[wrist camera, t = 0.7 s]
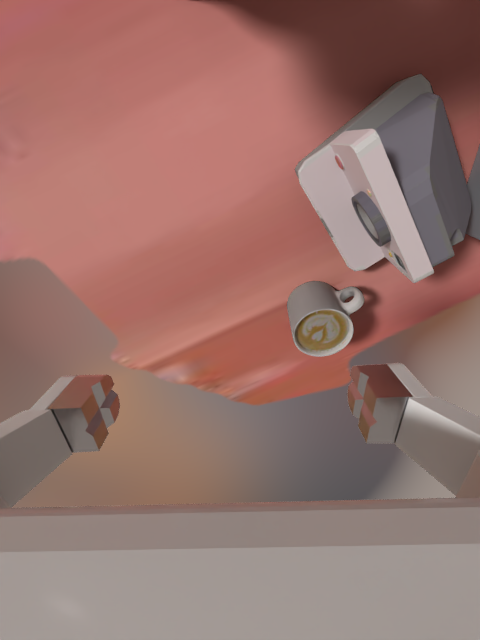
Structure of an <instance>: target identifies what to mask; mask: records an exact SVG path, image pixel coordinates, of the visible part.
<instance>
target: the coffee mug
mask: <svg viewBox="0 0 480 640" xmlns="http://www.w3.org/2000/svg"><path fill="white" fill-rule="evenodd" d="M350 296H354V298H353V299H352V300H351V301H350V302H347V303H344V301H345V300H346V299H347V298H348V297H350ZM363 303H364V296H363V294H362V292H361V291H360V290H359V289H358V288H356V287H347V288H344V289H342V290H340V291H336V290H335V289H334V288H333V287H332V286H330V285H329V284H327V283H325V282H321V281H311V282H307V283H304V284H302V285H300V286H298V287H297V288H296V289H294V291H293V292H292V293H291V294H290V296H289V298H288V302H287V309H288V315H289V320H290V326H291V331H292V336H293V340H294V343H295V345H296V346H297V348H298V349H299V350H301V351H302V352H303V353H305V354H308V355H311V356H319V357H320V356H328V355H332V354H334V353H337V352H338V351H340V350H342V349H343V348H344V347H345V346H346V345H347V344H348V343H349V342H350V340H351V338H352V336H353V331H354V327H353V323H352V321H351V319H350V317H349V315H350V314H352V313H353V312H355V311H357V310H358V309H359V308H361V306H362V305H363Z"/></svg>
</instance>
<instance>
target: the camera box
mask: <svg viewBox="0 0 480 640" xmlns="http://www.w3.org/2000/svg"><path fill="white" fill-rule="evenodd" d="M467 187H468V191H469V194H470V198H471V213H470V217H469V221H468V225H467V229H466V233H465V234H468V235H470V236H472V237H474V238H476V239H479V240H480V145H479V149H478V152H477V155H476V158H475V161H474V164H473V167H472V171H471V174H470V177H469V180H468V183H467Z"/></svg>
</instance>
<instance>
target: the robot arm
mask: <svg viewBox="0 0 480 640" xmlns="http://www.w3.org/2000/svg"><path fill="white" fill-rule="evenodd" d="M350 376H351V378H352V380H353V382H352V383H351V384H350V385H349V386H348V393H347V396H348V404H349V407H350V410H351V412H352V414H353V415H354V416H355V417H357V418H358V419H359V423H358V427H359V429H360V431H361V433H362V435H363V437H364V439H365V441H366V443H395V445H396V446H397V447H398V448H400V449H401V450H402V451H403V452H404V453H405V454H407V455H408V456H409V457H410V458H411V459H413V460H414V461H415V462H416V463H417V464H419V465H420V466H421V467H422V468H423V469H425V470H426V471H427V472H428V473H429V474H431V475H432V476H433V477H434V478H435V479H436V480H438V481H439V482H440V483H441V484H442V485H444V486H445V487H446V488H447V489H448V490H450V491H451V492H452V493H453V494H454V495H455V496H456V497H455V498H435V499H433V498H432V499H391V500H389V499H387V500H344V501H304V502H303V501H302V502H262V503H261V502H260V503H214V504H174V505H173V504H169V505H124V506H123V505H122V506H82V507H81V506H80V507H79V506H78V507H37V508H11V507H12V506H14V505H15V504H16V503H17V502H18V501H19V500H20V499H22V498H23V497H24V496H25V495H26V494H27V493H28V492H29V491H31V490H32V489H33V488H34V487H35V486H36V485H38V484H39V483H40V482H41V481H42V480H43V479H44V478H45V477H47V476H48V475H49V474H50V473H51V472H52V471H54V470H55V469H56V468H57V467H58V466H59V465H60V464H62V463H63V462H64V461H65V460H66V459H67V458H68V457H70V455H72V453H73V452H91V451H99V450H100V448H101V446H102V445H103V443H104V441H105V439H106V437H107V435H108V430H107V428H108V427H109V426H110V425H111V424H113V423H114V422H115V420H116V418H117V416H118V413H119V408H120V403H119V398H118V395H117V394H116V393H115V392H114V391H113V390H111V389H112V387H113V385H114V383H113V380H112V378H111V376H109V375H69V376H63V377H60V378H59V379H58V380H57V381H56V382H55V384H53V386H52V387H51V388H50V389H49V390H48V391H47V392H46V393H45V394H44V395H43V396H42V397H41V398H40V399H39V400H38V401H37V402H36V403H35V404H34V405H33V407H32V408H31V409H30V410H26V411H25V410H24V411H22V412H20V413H18V414H17V415H15V416H13V417H11V418H9V419H7V420H5V421H3V422H2V423H0V640H480V417H479V416H476V415H475V414H473V413H470V412H469V411H467V410H464V409H463V408H460V407H458V406H456V405H454V404H452V403H450V402H448V401H446V400H444V399H442V398H440V397H438V396H437V397H433V396H432V395H431V394H430V393H429V392H428V391H427V390H426V389H425V387H424V386H423V385H422V384H421V383H420V382H419V381H418V380H417V379H416V378H415V377H414V375H413V374H412V373H411V372H410V371H409V370H408V369H407V368H406V366H405V365H404V364H401V363H389V364H381V365H357V366H353V367H352V369H351V373H350Z"/></svg>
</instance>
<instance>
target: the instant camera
mask: <svg viewBox="0 0 480 640" xmlns="http://www.w3.org/2000/svg"><path fill="white" fill-rule="evenodd" d="M295 171H296V174H297V177H298V178H299V183H300V185H301V186H302V188H303V190H304V191H305V193H306V195H307V197H308V198H309V200H310V202H311V203H312V205H313V207H314V209H315V210H316V212H317V214H318V215H319V217H320V219H321V221H322V223H323V224H324V226H325V228H326V230H327V231H328V233H329V235H330V237H331V238H332V240H333V242H334V243H335V245H336V247H337V249H338V250H339V252H340V254H341V256H342V257H343V259H344V261H345V263H346V264H347V266H348V267H349V268H351V269H352V270H354V271H360V270H365V269H367V268H368V267H370V266H371V265H373V264H375V263H376V262H378V261H379V260H381V259H383V258H384V257H385V258H387V259H388V260H389V261H390V262H391V263H392V264H393V265H394V266H395V267H396V268H397V269H399V270H400V271H401V272H402V273H403V274H404V275H405V276H406V277H407V278H408V279H409V280H411V281H412V282H413V283H416V282H418V281H420V280H422V279H424V278H426V277H427V276H429V275H431V274H433V273H434V270H433V268H432V267H434V266H436V265H438V264H440V263H442V262H444V261H445V260H447V259H449V258H451V257H453V256H454V251H453V248H452V246H453V245H455V244H457V243H459V242H461V241H463V240H464V237H465V233H466V229H467V225H468V221H469V217H470V213H471V198H470V194H469V191H468V187H467V184H466V181H465V177H464V174H463V170H462V167H461V163H460V160H459V156H458V153H457V149H456V146H455V142H454V139H453V135H452V132H451V129H450V125H449V122H448V118H447V115H446V111H445V108H444V104H443V101H442V99H441V97H440V96H438V95H435V94H434V93H433V90H432V86H431V85H430V82H429V81H428V80H427V79H426V78H425V77H424V76H423V75H422V74H418V75H415V76H412V77H409V78H406V79H404V80H401V81H399V82H396V83H395V84H394V85H392V86H391V87H390V88H389V89H388V90H386V91H385V92H384V93H383V94H381V95H380V96H379V97H378V98H377V99H375V100H374V101H373V102H372V103H370V104H369V105H368V106H367V107H366V108H364V109H363V110H362V111H361V112H360V113H358V114H357V115H356V116H355V117H353V118H352V119H351V120H350V121H349V122H347V123H346V124H345V125H344V126H342V127H341V128H340V129H339V130H338V131H336V132H335V133H334V134H333V135H331V136H330V137H329V138H328V139H327V140H325V141H324V142H323V143H322V144H320V145H319V146H318V147H317V148H316V149H314V150H313V151H312V152H311V153H309V154H308V155H307V156H306V157H305V158H303V159H302V160H301V161H300V162H299V163H298V165H297V166H296V168H295Z"/></svg>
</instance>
